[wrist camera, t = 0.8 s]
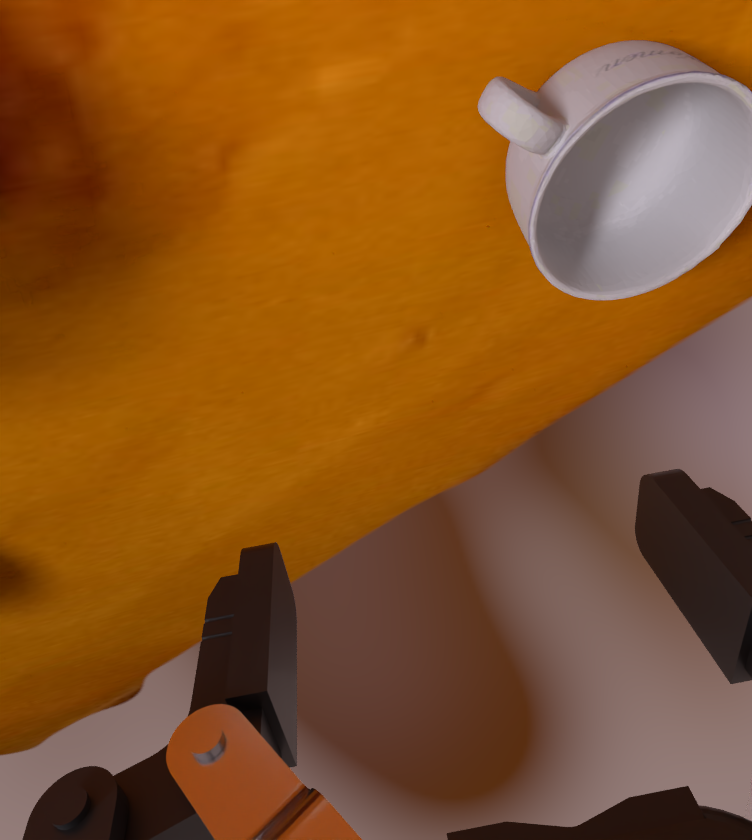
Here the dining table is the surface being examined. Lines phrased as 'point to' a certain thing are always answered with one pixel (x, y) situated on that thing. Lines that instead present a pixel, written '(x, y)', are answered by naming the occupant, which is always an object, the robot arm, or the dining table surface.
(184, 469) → the dining table surface
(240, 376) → the dining table surface
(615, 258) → the teacup
